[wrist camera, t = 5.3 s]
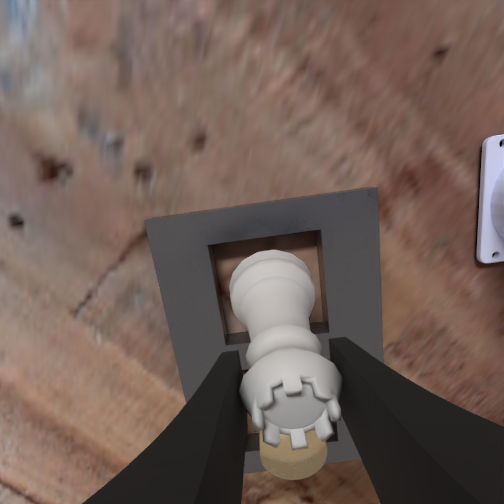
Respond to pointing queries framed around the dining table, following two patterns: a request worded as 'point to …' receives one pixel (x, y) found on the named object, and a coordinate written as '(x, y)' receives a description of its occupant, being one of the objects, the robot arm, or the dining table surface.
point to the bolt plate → (217, 340)
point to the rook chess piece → (283, 351)
